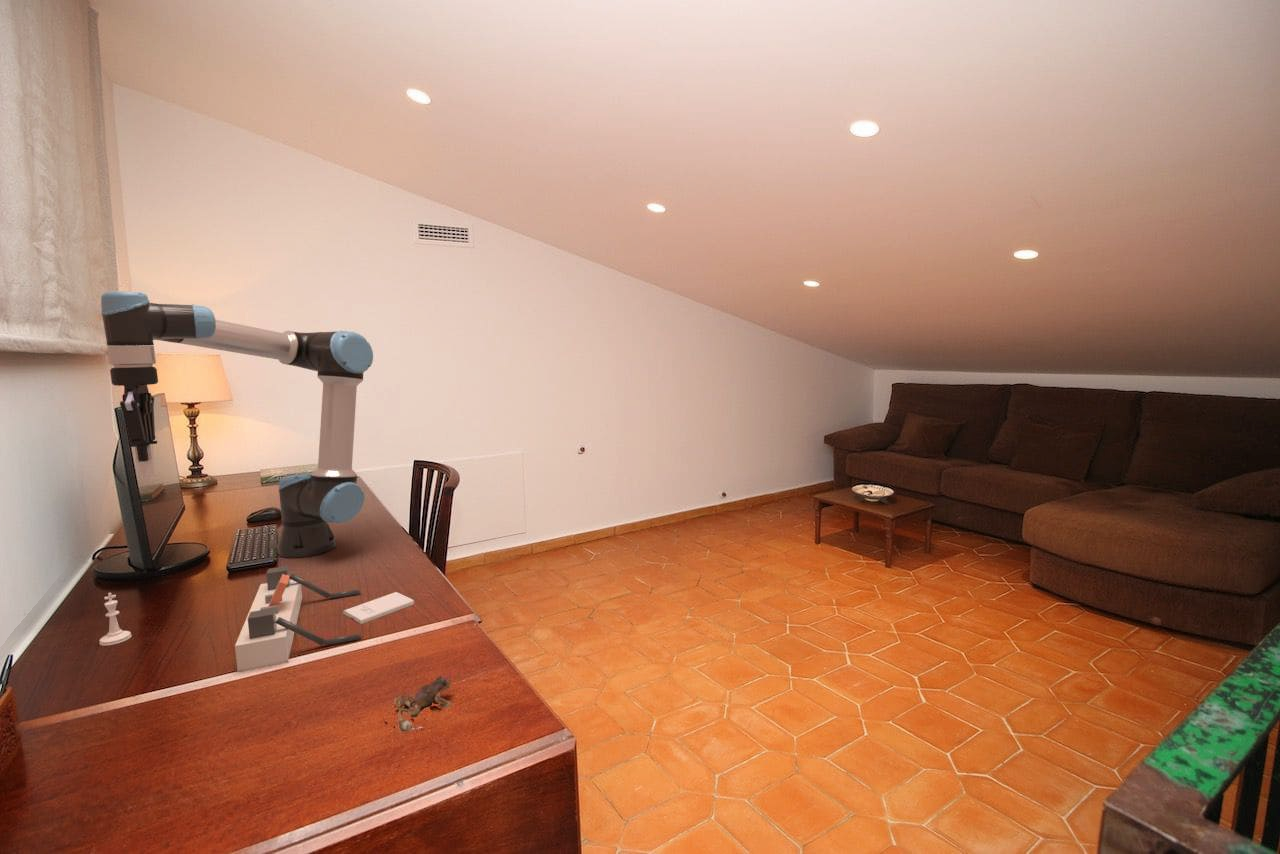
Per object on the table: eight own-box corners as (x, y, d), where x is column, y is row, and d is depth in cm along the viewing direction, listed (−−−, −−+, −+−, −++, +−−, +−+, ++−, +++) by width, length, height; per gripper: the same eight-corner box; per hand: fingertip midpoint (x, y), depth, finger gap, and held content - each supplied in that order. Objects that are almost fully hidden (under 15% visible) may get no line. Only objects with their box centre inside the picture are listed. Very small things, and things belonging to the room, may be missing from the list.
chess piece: (98, 640, 119) (92, 593, 118) (129, 631, 122) (124, 586, 121) (100, 648, 116) (94, 600, 114) (133, 639, 119) (127, 592, 118)
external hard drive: (414, 606, 135) (361, 626, 125) (395, 597, 140) (343, 616, 130) (414, 600, 135) (360, 619, 125) (395, 591, 140) (342, 609, 130)
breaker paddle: (267, 609, 119) (279, 582, 120) (270, 600, 124) (282, 574, 124) (275, 611, 120) (287, 584, 120) (278, 602, 125) (289, 575, 125)
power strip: (237, 671, 107) (232, 625, 105) (262, 604, 135) (259, 567, 134) (361, 646, 115) (358, 603, 114) (360, 588, 144) (358, 553, 143)
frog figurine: (433, 682, 104) (432, 662, 103) (472, 708, 96) (471, 686, 95) (369, 712, 95) (367, 690, 94) (406, 743, 87) (404, 720, 87)
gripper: (121, 366, 127) (135, 471, 130) (98, 367, 116) (114, 483, 119) (164, 365, 130) (177, 468, 134) (145, 366, 119) (160, 479, 122)
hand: (147, 475), depth 126 cm, fingers closed
